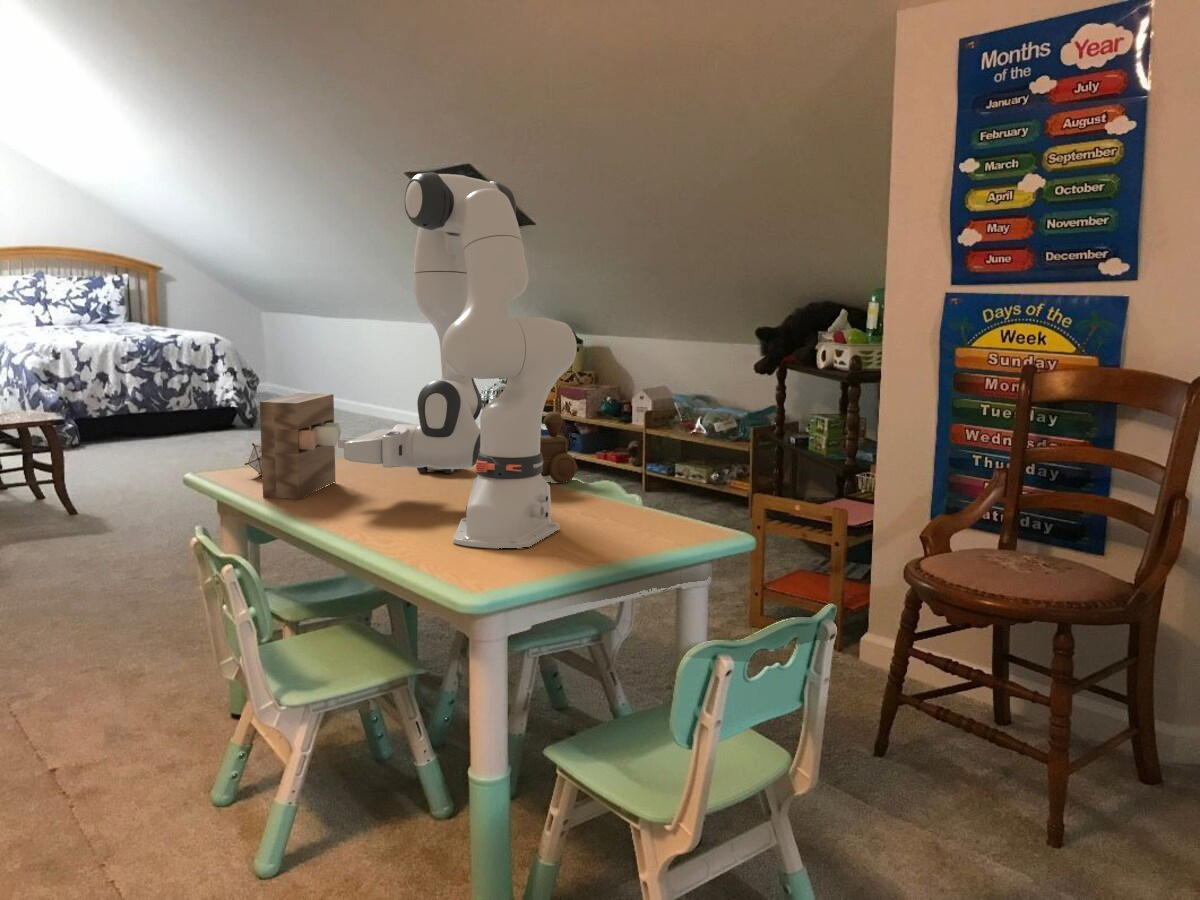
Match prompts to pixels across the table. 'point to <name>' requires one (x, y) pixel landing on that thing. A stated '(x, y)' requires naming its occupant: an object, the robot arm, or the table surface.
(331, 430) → the cream button
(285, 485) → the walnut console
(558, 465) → the wooden toy train
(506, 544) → the robot arm
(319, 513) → the table surface
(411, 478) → the table surface
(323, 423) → the sage button
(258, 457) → the game die
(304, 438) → the terracotta button
